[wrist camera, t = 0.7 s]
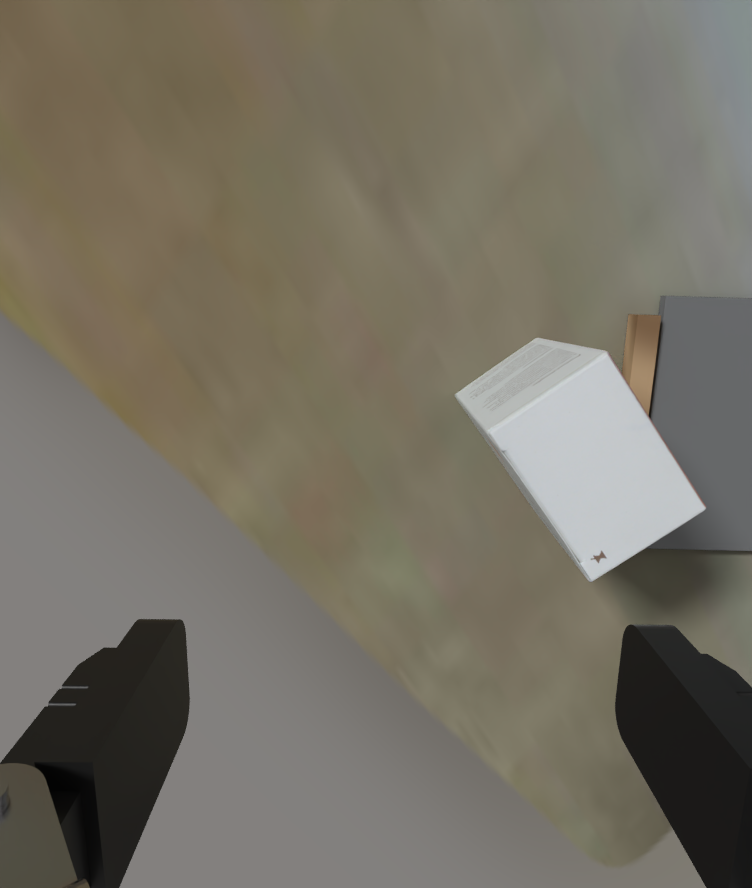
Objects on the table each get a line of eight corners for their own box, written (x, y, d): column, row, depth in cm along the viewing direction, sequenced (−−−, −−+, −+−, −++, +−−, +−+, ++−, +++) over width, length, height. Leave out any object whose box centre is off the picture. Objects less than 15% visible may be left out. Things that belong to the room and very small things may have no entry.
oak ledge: (628, 314, 33) (638, 314, 32) (651, 314, 33) (661, 315, 32) (604, 527, 36) (612, 534, 35) (624, 527, 36) (633, 535, 35)
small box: (613, 451, 35) (714, 513, 25) (528, 506, 36) (593, 589, 25) (537, 332, 34) (611, 346, 23) (450, 393, 34) (485, 432, 24)
